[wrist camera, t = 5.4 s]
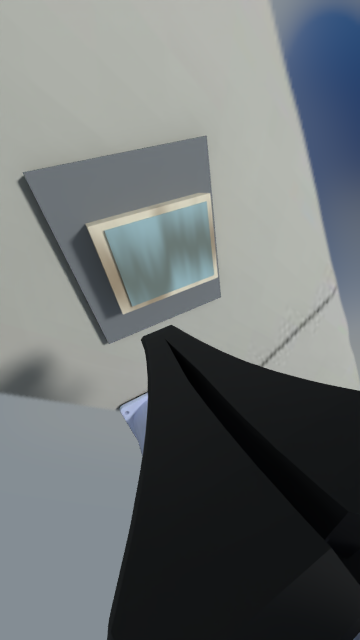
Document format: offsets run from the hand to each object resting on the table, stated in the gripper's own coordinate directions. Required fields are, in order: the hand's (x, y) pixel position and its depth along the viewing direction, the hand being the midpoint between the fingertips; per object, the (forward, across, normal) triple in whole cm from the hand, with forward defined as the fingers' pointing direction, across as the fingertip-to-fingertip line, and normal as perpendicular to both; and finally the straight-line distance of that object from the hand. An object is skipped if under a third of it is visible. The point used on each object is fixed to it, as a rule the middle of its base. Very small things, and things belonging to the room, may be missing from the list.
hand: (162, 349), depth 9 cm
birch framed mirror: (+8, +1, -1) cm, 8 cm away
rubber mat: (+9, -3, -1) cm, 10 cm away
